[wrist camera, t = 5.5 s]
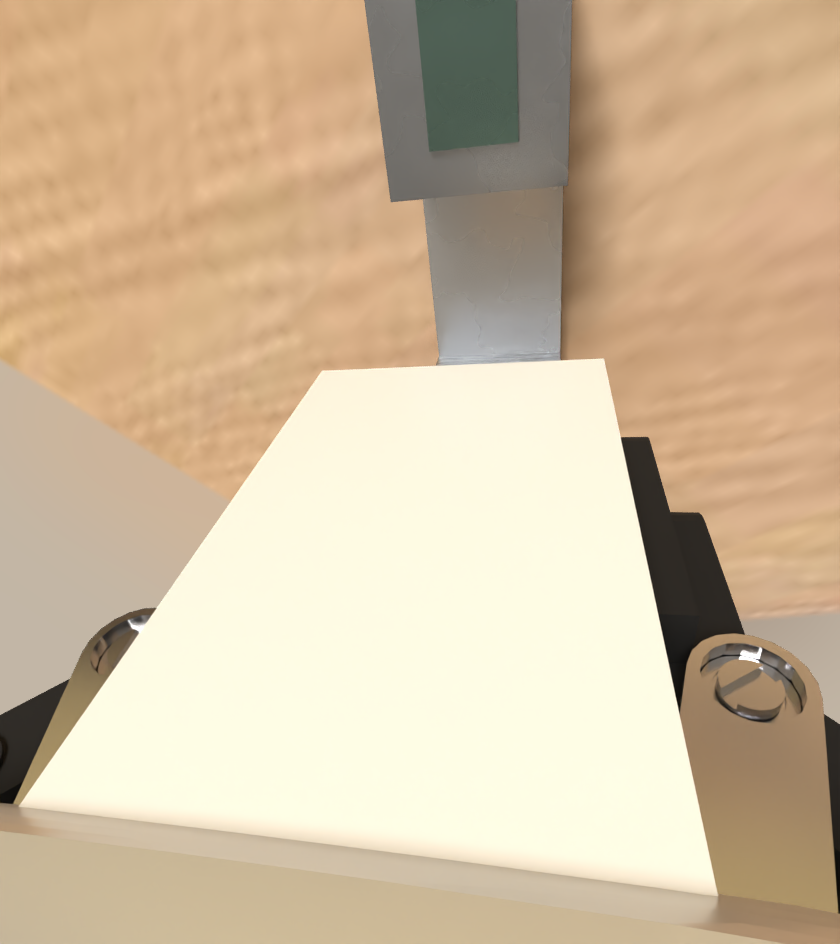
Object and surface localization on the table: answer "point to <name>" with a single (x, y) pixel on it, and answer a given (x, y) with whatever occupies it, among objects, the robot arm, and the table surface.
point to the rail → (496, 269)
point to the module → (414, 643)
